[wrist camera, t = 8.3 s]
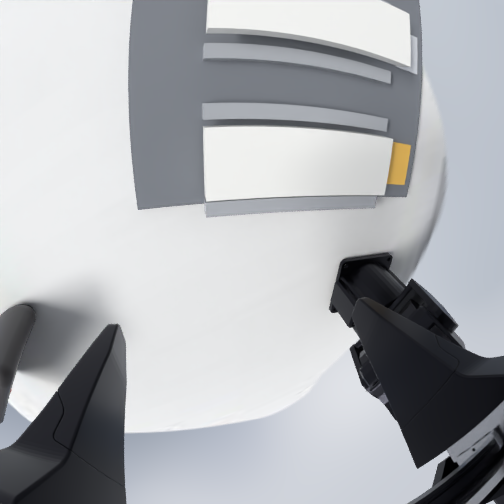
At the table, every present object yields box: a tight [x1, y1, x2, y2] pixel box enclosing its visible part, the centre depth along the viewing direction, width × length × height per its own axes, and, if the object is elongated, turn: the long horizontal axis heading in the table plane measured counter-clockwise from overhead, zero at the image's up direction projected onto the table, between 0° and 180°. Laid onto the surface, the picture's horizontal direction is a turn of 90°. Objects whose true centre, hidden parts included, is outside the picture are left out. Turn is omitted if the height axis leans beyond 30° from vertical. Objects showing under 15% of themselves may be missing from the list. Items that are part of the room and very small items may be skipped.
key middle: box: [206, 0, 411, 67], centre depth 11 cm, size 13×4×1 cm, turn 88°
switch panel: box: [128, 0, 422, 217], centre depth 13 cm, size 22×27×2 cm
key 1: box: [203, 125, 393, 202], centre depth 17 cm, size 13×4×1 cm, turn 88°
